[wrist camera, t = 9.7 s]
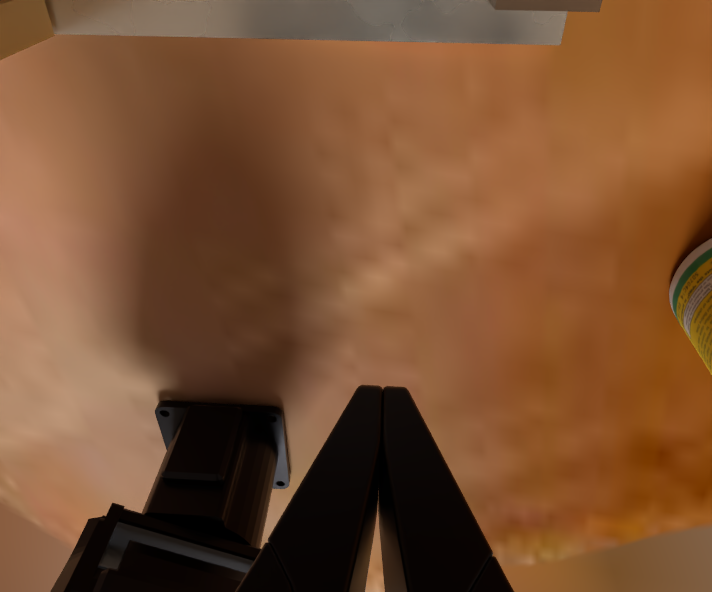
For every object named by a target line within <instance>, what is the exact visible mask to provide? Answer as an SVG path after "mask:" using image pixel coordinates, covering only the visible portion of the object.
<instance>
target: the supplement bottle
mask: <svg viewBox="0 0 712 592" xmlns="http://www.w3.org/2000/svg"><path fill="white" fill-rule="evenodd" d="M669 297H670V304H671V308H672V310H673V312H674V314H675V316H676V318H677V320H678V322H679V323H680V325H681V326H682V328H683V330H684V331H685V333H686V335H687V336H688V338H689V339H690V341H691V342H692V344H693V346H694V347H695V349H696V351H697V352H698V354H699V355H700V357H701V358H702V360H703V361H704V363H705V365H706V367H707V368H708V370H709V371H710V373H711V374H712V238H711V239H709V240H708V241H706V242H704V243H703V244H701V245H700V246H699V247H697V248H696V249H695V250H694V251H692V252H691V253H690V254H689V255H688V256H687V257H686V258H685V260H684V261H683V262H682V263H681V265H680V266H679V268H678V269H677V271H676V273H675V275H674V277H673V279H672V282H671V285H670V289H669Z"/></svg>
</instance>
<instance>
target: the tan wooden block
mask: <svg viewBox="0 0 712 592" xmlns="http://www.w3.org/2000/svg"><path fill="white" fill-rule="evenodd" d="M53 36H55V35H54V31H53V28H52V25H51V21H50V18H49V14H48V11H47V8H46V4H45V1H44V0H0V60H1V59H3V58H6V57H8V56H10V55H12V54H15V53H17V52H19V51H21V50H24V49H26V48H28V47H30V46H33V45H35V44H37V43H39V42H42V41H44V40H46V39H48V38H50V37H53Z"/></svg>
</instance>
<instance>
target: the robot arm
mask: <svg viewBox="0 0 712 592" xmlns="http://www.w3.org/2000/svg"><path fill="white" fill-rule="evenodd" d="M155 414H156V418H157V421H158V424H159V427H160V430H161V433H162V436H163V439H164V443H165V446H166V449H167V452H166V454H165V457H164V459H163V462H162V464H161V467H160V469H159V472H158V474H157V477H156V479H155V482H154V484H153V487H152V489H151V492H150V494H149V497H148V499H147V502H146V504H145V506H144V509H143V511H142V514H141V513H138V512H135V511H131V510H128V509H124V507H125V506H122V505H119V504H115V503H112V505H111V507H110V509H109V511H108V513H107V515H106V516H102V517H98V518H91V519H89V520H88V522H87V524H86V526H85V528H84V530H83V532H82V534H81V536H80V538H79V540H78V542H77V544H76V546H75V548H74V550H73V552H72V554H71V556H70V558H69V560H68V562H67V563H66V565H65V567H64V569H63V571H62V572H61V574H60V576H59V578H58V579H57V581H56V583H55V585H54V587H53V588H52V590H51V592H365V587H366V581H367V574H368V568H369V562H370V555H371V549H372V543H373V537H374V530H375V524H376V516H377V506H378V512H379V528H380V539H381V551H382V562H383V573H384V585H385V592H514V591H513V589H512V587H511V585H510V583H509V582H508V580H507V578H506V576H505V574H504V572H503V570H502V568H501V566H500V565H499V563H498V561H497V559H496V557H494V556H492V555H493V552H492V550H491V548H490V546H489V544H488V542H487V540H486V538H485V536H484V534H483V532H482V531H481V529H480V527H479V525H478V523H477V521H476V519H475V517H474V515H473V513H472V511H471V510H470V508H469V506H468V504H467V502H466V500H465V498H464V496H463V494H462V492H461V490H460V488H459V487H458V485H457V483H456V481H455V479H454V477H453V475H452V473H451V471H450V469H449V467H448V465H447V464H446V462H445V460H444V458H443V456H442V454H441V452H440V450H439V448H438V446H437V444H436V443H435V441H434V439H433V437H432V435H431V433H430V431H429V429H428V427H427V425H426V423H425V421H424V420H423V418H422V416H421V414H420V412H419V410H418V408H417V406H416V404H415V402H414V400H413V398H412V397H411V395H410V393H409V391H408V390H407V388H405V387H394V386H386V387H384V388H383V390H382V387H380V386H374V385H360V386H359V387H358V388H357V389H356V391H355V393H354V395H353V396H352V398H351V400H350V401H349V403H348V405H347V406H346V408H345V410H344V411H343V413H342V415H341V416H340V418H339V420H338V422H337V423H336V425H335V427H334V428H333V430H332V432H331V433H330V435H329V437H328V438H327V440H326V442H325V443H324V445H323V447H322V449H321V450H320V452H319V454H318V455H317V457H316V459H315V460H314V462H313V464H312V465H311V467H310V469H309V470H308V472H307V474H306V476H305V477H304V479H303V481H302V482H301V484H300V486H299V487H298V489H297V491H296V492H295V494H294V496H293V497H292V499H291V501H290V502H289V504H288V506H287V508H286V509H285V511H284V513H283V514H282V516H281V518H280V519H279V521H278V523H277V524H276V526H275V528H274V529H273V531H272V533H271V535H270V536H269V538H268V542H267V543H265V544H264V546H263V548H262V549H260V546H261V541H262V536H263V531H264V526H265V521H266V517H267V512H268V507H269V502H270V497H271V492H272V488H274V489H285V488H287V487H288V486H289V482H290V471H289V461H288V452H287V443H286V434H285V424H284V415H283V411H282V410H281V409H280V408H278V407H274V406H257V405H237V404H217V403H197V402H177V401H161V402H159V404H158V405H157V407H156V410H155ZM378 490H379V495H378Z"/></svg>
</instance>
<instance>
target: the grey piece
mask: <svg viewBox="0 0 712 592" xmlns="http://www.w3.org/2000/svg"><path fill="white" fill-rule="evenodd" d="M44 1H45V4H46V8H47V11H48V14H49V18H50V21H51V25H52V28H53V31H54V34H74V35H120V36H166V37H212V38H258V39H304V40H350V41H396V42H442V43H488V44H534V45H560V44H561V40H562V35H563V30H564V26H565V21H566V17H567V12H568V11H576V12H599V11H600V7H601V3H602V0H44Z"/></svg>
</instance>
